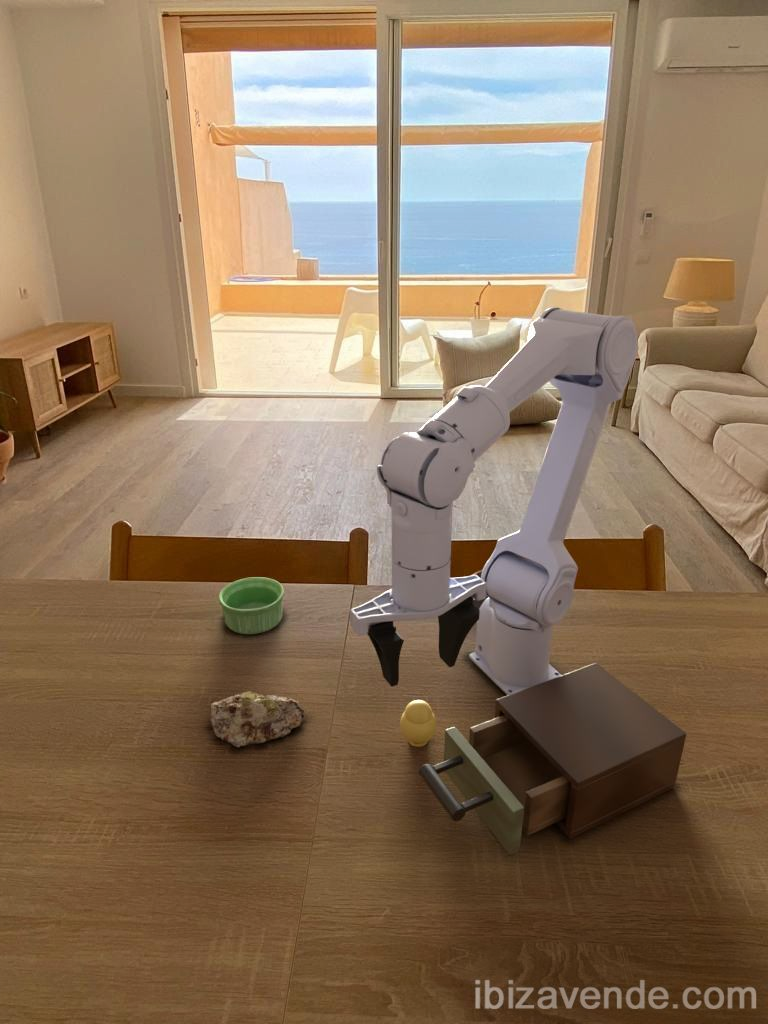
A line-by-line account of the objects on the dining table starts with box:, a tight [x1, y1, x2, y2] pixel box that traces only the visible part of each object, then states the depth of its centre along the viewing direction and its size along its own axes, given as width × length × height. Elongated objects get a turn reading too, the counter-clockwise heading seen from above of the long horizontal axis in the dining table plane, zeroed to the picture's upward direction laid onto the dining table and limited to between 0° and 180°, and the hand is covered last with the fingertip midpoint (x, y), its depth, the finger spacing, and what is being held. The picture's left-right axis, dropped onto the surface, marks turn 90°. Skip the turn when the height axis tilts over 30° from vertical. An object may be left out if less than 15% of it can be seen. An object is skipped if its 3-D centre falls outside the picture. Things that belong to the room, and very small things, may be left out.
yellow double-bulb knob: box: [399, 699, 438, 748], centre depth 76 cm, size 4×4×5 cm
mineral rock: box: [210, 690, 306, 748], centre depth 79 cm, size 11×4×8 cm
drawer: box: [418, 715, 572, 856], centre depth 67 cm, size 17×11×5 cm
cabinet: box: [494, 662, 687, 839], centre depth 71 cm, size 14×13×7 cm
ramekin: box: [218, 576, 285, 635], centre depth 98 cm, size 9×9×4 cm
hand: (419, 670), depth 73 cm, fingers open, 6 cm apart
